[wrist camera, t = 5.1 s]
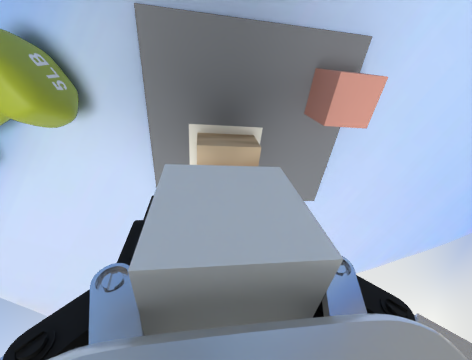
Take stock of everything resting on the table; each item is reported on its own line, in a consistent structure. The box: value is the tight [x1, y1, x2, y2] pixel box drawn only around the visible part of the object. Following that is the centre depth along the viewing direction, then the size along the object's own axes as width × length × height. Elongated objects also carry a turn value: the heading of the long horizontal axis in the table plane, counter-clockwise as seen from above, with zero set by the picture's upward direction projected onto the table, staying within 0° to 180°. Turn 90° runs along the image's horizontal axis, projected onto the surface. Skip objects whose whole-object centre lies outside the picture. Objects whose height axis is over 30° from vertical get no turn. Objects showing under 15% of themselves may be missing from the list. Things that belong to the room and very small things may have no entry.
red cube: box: [304, 68, 388, 128], centre depth 23 cm, size 5×5×5 cm
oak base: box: [197, 133, 261, 166], centre depth 26 cm, size 7×7×4 cm
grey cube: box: [128, 164, 343, 336], centre depth 10 cm, size 6×6×6 cm
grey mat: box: [134, 3, 372, 201], centre depth 26 cm, size 22×24×1 cm
